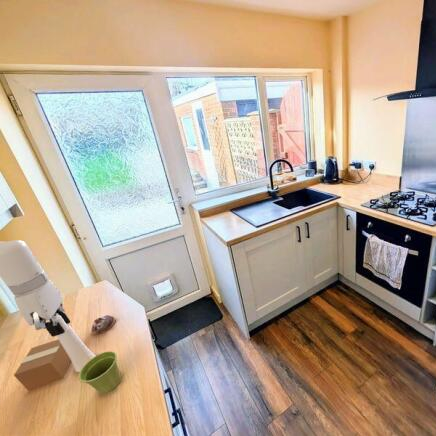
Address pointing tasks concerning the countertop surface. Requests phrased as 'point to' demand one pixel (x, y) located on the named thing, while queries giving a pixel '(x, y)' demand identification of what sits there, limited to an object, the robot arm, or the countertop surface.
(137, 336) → the countertop surface
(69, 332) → the cosmetic bottle
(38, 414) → the countertop surface
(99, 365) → the plant pot
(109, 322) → the pastry
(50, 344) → the box
